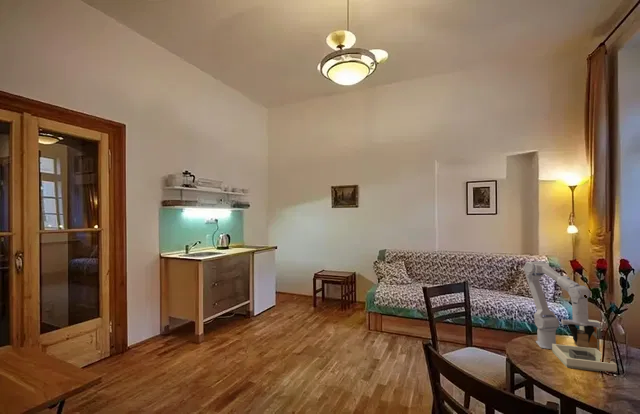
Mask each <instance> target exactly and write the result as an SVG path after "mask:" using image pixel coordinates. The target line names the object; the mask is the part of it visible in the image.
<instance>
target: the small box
mask: <svg viewBox="0 0 640 414" xmlns="http://www.w3.org/2000/svg"><path fill="white" fill-rule="evenodd" d="M588 321H590V322H598V323H602V322H601V321H599V320H597V319H596V320H595V319H588ZM594 328H595V331H594V332H593V334H592V335H591V338H590V341H589V348H596V349H598V345H597V330H596V327H594ZM579 330H584V326H579ZM584 332H585V330H584Z"/></svg>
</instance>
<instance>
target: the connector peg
mask: <svg viewBox="0 0 640 414" xmlns="http://www.w3.org/2000/svg"><path fill="white" fill-rule="evenodd" d="M573 342H574V346H578V347H585V348H589V343H588V334H587V333H585V332H584V330H580V329H577V342H575V341H574V340H573Z"/></svg>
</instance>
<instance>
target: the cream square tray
mask: <svg viewBox="0 0 640 414" xmlns="http://www.w3.org/2000/svg"><path fill="white" fill-rule="evenodd" d="M551 351H552V353H553V354H554V355H555V356H556V357H557V358H558V359H559V361H560V362H561V363H562V364H563V365H564V366H565V367H566V368H567V369H568V368H569V369H576V370H584V371H592V372H599V371H600V372H601V371H617V372H618V365H617V363H616V362H614V361H613V360H612V361H610V363H608V362H600V359H601V355H602V354H601V352H600V351H599V350H598V349H597V348H585V347H578V346H577V345H568V344H559V343H556V344H552V349H551ZM600 372H599V373H600ZM601 373H602V372H601Z"/></svg>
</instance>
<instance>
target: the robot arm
mask: <svg viewBox="0 0 640 414" xmlns="http://www.w3.org/2000/svg"><path fill="white" fill-rule="evenodd" d="M523 270H524V273H525V276H526V277H525V278H526V281H527V284H528V286H529V290H530V293H531V296H532V299H533V303H534V304H535V308H536V312H535V313H533V317H534V325H535V326H536V327H537V330H536V332H537V334H536V335H537V340H535V343H536V344H537V345H538V346H539V347H540V348H541V349H545V350H546V349H547V350H552V344H557V340H556V339H557V336H556V335H557V334H556V331H557V329H558V328H559V327H560V323H561V325H563V326H566V325H567V327H568V329H569V330H570V333H571V335H572V339H573V342H574V341H575V342H577V330H579V329H578V327H580V326H584V330H585V333H587V334H588V343H589V341H590V338H591V335H592V334H593V332H594V331H595V328H594V327H598V328H601V324H600V323H598V322H590V321H588V320H589V302H588V301H589V300H588V299H589V298H590V297H591V295H592V294H591V290H590V289H589V288H588V287H587V286H586V285H580V284H579V283H578V282H576V281H574V280H572V279H571V277H569V276H566V275H561V274H560V273H558V272H557V271H556V270H554V269H553V268H552V267H551V266H550V264H549V263H547V262H546V261H542V260H541V261H526V262H525V264H524V265H523ZM544 275H546V276H547V277H549V278H550V279H552V280H554V281H556V283H557V285H558V286H559V287H560V288H562V289H563V290H564V291H566V292H567V294H568V296H569V297H570V301H571V311H572V319H561V322H560V321H559V319H558V318H557V317H556V314H555V313H554V312H553V311H552V310H550V309H549V306H548V305H549V304H548V303H547V299H546V297H545V294H544V291H543V288H542V284H541V282H540V279H541V277H543V276H544ZM584 295H586V296H587V298H585V297H584Z"/></svg>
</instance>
